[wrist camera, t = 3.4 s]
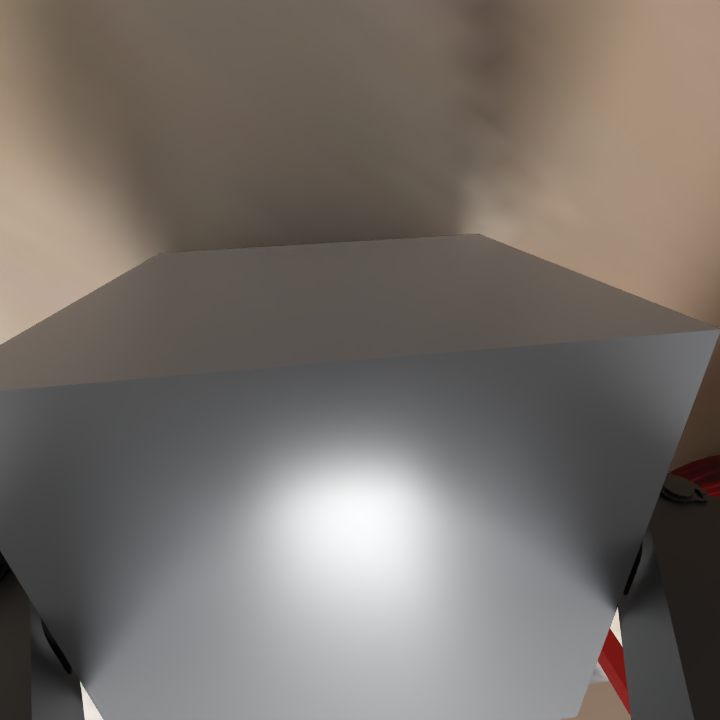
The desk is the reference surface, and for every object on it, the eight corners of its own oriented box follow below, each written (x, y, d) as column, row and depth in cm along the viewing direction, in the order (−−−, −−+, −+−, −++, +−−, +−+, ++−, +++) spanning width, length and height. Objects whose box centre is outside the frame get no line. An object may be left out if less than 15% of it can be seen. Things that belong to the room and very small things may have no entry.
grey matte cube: (160, 252, 13) (-93, 399, 5) (478, 233, 13) (721, 329, 6) (222, 499, 17) (146, 788, 9) (458, 473, 18) (576, 716, 10)
